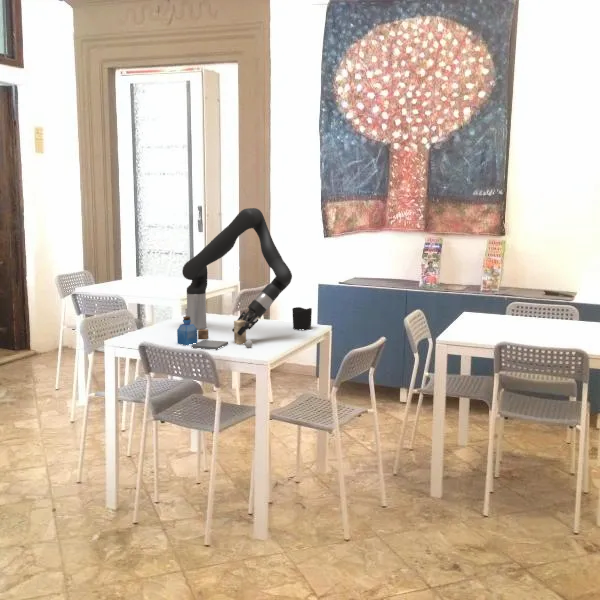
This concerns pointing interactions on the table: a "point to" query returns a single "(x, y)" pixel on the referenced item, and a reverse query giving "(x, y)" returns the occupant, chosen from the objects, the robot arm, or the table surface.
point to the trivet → (209, 344)
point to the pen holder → (302, 318)
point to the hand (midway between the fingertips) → (236, 333)
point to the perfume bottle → (187, 332)
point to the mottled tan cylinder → (237, 337)
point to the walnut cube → (202, 333)
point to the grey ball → (248, 343)
